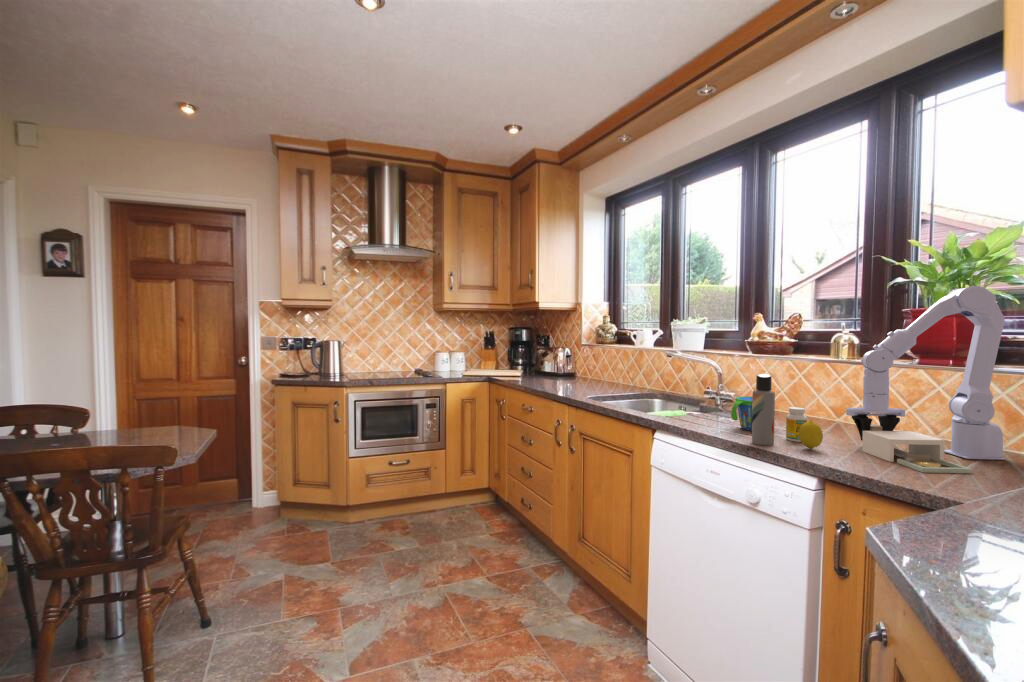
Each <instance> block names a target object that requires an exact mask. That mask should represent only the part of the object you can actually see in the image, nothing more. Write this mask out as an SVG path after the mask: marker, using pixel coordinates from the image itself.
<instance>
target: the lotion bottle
mask: <svg viewBox="0 0 1024 682" xmlns="http://www.w3.org/2000/svg"><path fill="white" fill-rule="evenodd" d="M755 383H756V385H755V390H752V396H751V397H752V431H751V443H753V444H754V445H758V446H767V447H769V446H773V445H774V444H775V416H776V411H775V410H776V409H775V408H776V407H775V406H776V404H775V403H776V402H775V401H776V393H775V392H774V390H773V391H772V375H770V374H767V373H761V374H757V375H756V381H755Z"/></svg>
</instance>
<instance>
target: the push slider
mask: <svg viewBox="0 0 1024 682" xmlns="http://www.w3.org/2000/svg"><path fill="white" fill-rule="evenodd" d="M869 431H882V426H880V424H876V423H875V424H874V423H873V424H872V423H871V425H870V430H869ZM894 456H897V457H900V458H901V459H904V460H905V461H908V462H911V463H914V460H916V459H921V460H930V461H931V459H930V455H929V454H913V453H910V452H907V451H904V450H901V449H898V448H895V447H894Z"/></svg>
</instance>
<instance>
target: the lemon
mask: <svg viewBox="0 0 1024 682" xmlns="http://www.w3.org/2000/svg"><path fill="white" fill-rule="evenodd" d="M799 438H800V441H801V442H800V443H801V444H802V445H803V446H804V447H806V448H808V449H809V450H810V449H811V450H813V449H814V448H817V447H819V446H820V445H821V444H822V442H823V439H824V434H823V430H822V427H821V426H820V425H819V424H818V423H816V422H814V421H813V420H808V421H807V422H806V423H804V424H803V425H802V426H801V427H800V430H799Z"/></svg>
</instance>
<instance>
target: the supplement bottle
mask: <svg viewBox="0 0 1024 682" xmlns="http://www.w3.org/2000/svg"><path fill="white" fill-rule="evenodd" d="M788 412H789V413H788V414H786V418H785V421H786V422H785V423H786V425H785V434H786V435H785V437H786V440H788V441H790V442H794V443H795V442H797V443H802V442H801V441H800V438H799V430H800V427H801V426H802V425H803V424H804V423H806V422H808V417H807V416H806V415H805V412H806V409H805V408H804V407H795V406H794V407H793V406H792V407H791V406H790V407H788Z"/></svg>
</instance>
